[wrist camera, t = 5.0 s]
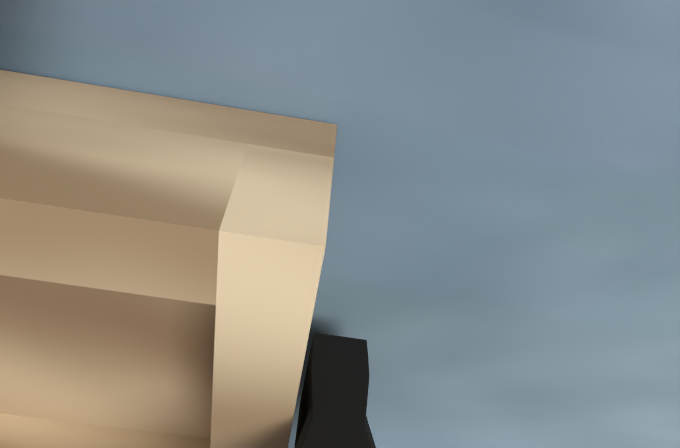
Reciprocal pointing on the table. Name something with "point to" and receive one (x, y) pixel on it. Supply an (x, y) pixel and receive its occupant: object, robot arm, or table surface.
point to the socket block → (154, 267)
